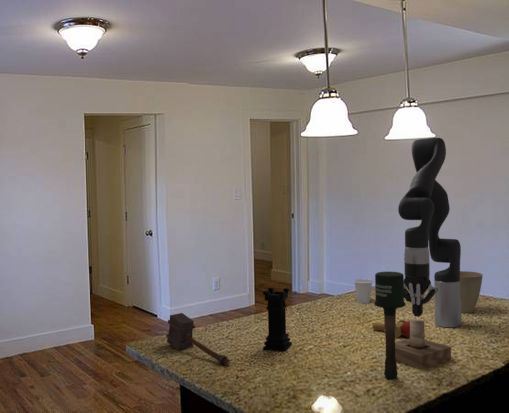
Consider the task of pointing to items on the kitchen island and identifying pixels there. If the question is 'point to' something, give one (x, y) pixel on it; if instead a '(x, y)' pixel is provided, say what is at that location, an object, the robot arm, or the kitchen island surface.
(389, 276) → the potato masher grenade
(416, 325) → the peg
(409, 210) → the robot arm
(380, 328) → the kendama
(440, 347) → the block
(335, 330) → the kitchen island surface
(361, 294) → the dixie cup
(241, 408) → the kitchen island surface
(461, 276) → the plant pot
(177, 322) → the hammer
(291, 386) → the kitchen island surface
